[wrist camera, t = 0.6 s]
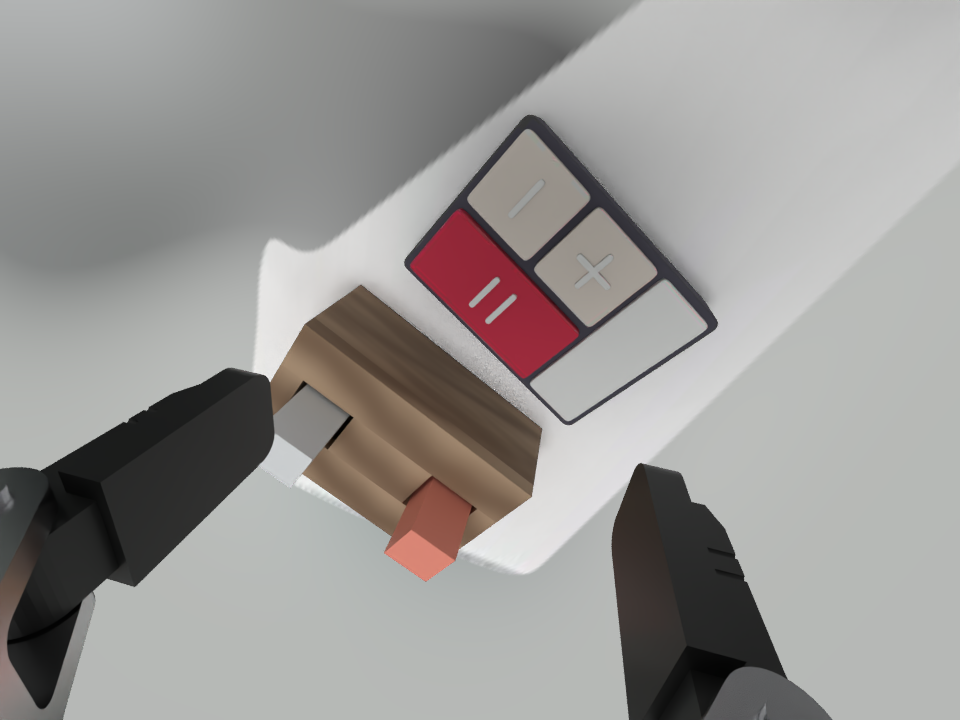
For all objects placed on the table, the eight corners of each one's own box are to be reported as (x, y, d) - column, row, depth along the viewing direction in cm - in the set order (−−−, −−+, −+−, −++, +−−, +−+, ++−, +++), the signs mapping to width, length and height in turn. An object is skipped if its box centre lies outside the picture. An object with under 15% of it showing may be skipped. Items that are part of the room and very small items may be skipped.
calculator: (527, 108, 20) (726, 331, 22) (539, 114, 24) (708, 305, 26) (394, 266, 26) (566, 435, 28) (421, 251, 29) (570, 401, 31)
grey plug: (330, 363, 29) (263, 424, 23) (368, 392, 30) (312, 459, 24) (310, 391, 31) (243, 455, 25) (347, 418, 31) (290, 488, 25)
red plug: (446, 450, 31) (411, 529, 25) (480, 476, 31) (455, 560, 25) (421, 473, 32) (383, 552, 26) (455, 497, 33) (425, 581, 27)
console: (360, 284, 30) (304, 324, 24) (542, 428, 33) (531, 496, 27) (299, 379, 36) (241, 431, 30) (458, 497, 38) (434, 566, 32)
